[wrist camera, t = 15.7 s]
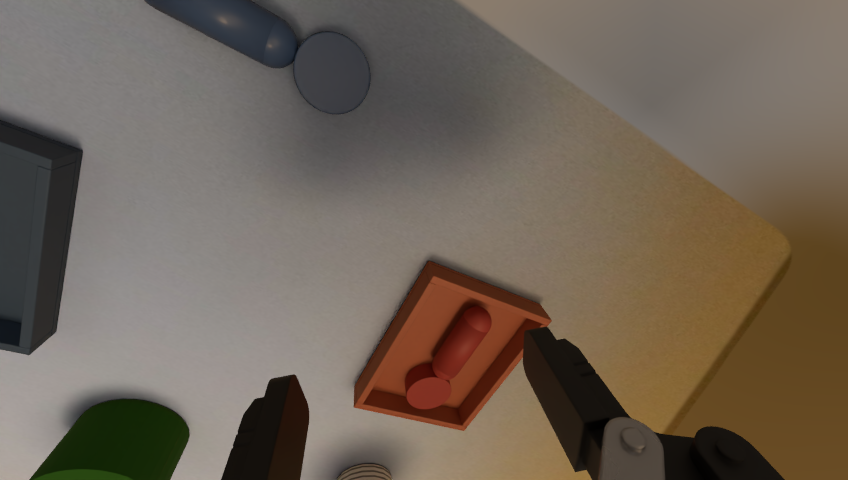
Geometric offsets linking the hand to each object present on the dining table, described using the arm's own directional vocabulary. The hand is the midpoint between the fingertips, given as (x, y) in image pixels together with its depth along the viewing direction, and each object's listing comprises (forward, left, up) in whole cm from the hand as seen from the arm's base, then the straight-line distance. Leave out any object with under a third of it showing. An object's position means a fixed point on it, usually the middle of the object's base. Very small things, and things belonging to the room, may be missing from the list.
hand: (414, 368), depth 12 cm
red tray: (+9, +10, -14) cm, 19 cm away
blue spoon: (-7, -10, -14) cm, 18 cm away
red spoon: (+9, +10, -13) cm, 19 cm away
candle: (+27, -11, -14) cm, 33 cm away
